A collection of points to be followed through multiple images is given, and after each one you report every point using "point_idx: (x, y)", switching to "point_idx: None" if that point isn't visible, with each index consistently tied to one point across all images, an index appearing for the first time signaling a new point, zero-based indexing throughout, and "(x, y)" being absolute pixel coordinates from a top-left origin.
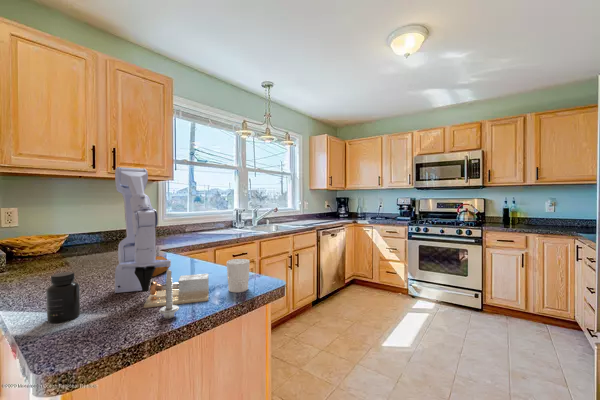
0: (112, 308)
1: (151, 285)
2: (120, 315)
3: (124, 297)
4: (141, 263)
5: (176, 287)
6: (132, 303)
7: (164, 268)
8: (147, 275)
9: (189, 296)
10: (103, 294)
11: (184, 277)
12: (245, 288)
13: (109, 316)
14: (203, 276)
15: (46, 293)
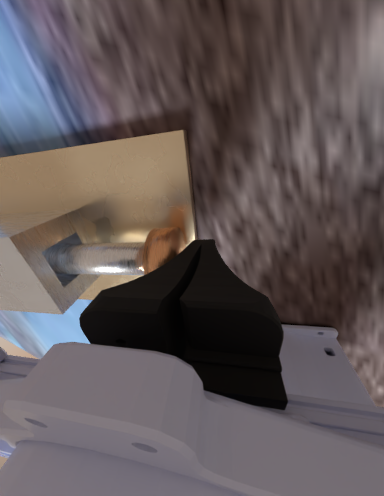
0: (336, 162)
1: (163, 249)
2: (283, 16)
3: (295, 283)
4: (148, 492)
5: (74, 244)
6: (252, 209)
7: None
8: (156, 282)
9: (36, 198)
10: (374, 330)
11: (24, 285)
12: None
13: (350, 6)
14: None
15: None
